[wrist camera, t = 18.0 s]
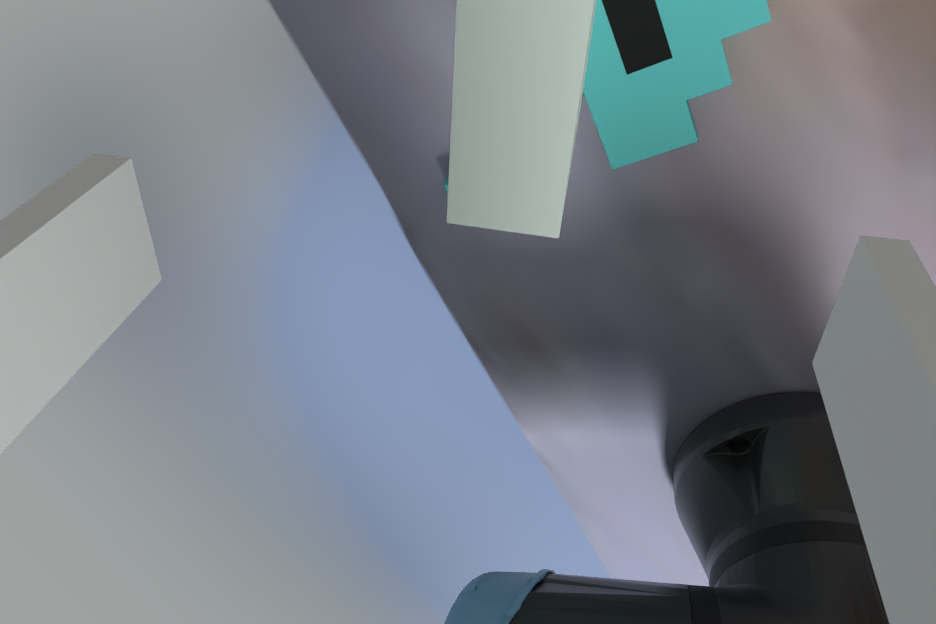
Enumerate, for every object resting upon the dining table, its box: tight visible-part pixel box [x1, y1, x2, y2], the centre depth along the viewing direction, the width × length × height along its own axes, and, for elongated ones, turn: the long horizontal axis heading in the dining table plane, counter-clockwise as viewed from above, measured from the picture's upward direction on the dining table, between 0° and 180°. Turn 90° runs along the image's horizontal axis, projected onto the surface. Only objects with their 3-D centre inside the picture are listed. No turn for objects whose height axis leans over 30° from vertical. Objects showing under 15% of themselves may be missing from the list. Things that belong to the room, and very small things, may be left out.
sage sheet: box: [447, 0, 597, 239], centre depth 29 cm, size 12×4×14 cm, turn 177°
